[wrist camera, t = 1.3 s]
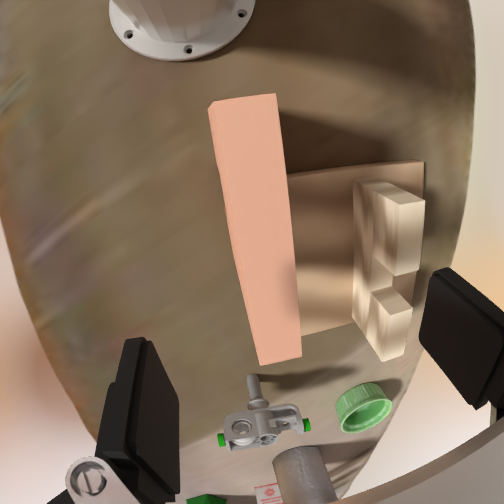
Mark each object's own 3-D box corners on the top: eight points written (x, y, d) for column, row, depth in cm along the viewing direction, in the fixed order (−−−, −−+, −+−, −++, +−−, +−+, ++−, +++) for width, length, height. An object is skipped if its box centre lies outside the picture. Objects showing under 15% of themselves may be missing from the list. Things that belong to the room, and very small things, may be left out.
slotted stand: (283, 174, 28) (319, 203, 20) (415, 159, 29) (476, 181, 21) (297, 327, 36) (323, 387, 28) (405, 298, 37) (446, 342, 29)
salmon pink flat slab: (207, 109, 25) (213, 101, 11) (236, 104, 25) (275, 93, 11) (233, 254, 31) (259, 365, 17) (258, 249, 31) (301, 356, 18)
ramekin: (379, 371, 43) (391, 390, 39) (383, 398, 47) (393, 416, 43) (327, 396, 43) (336, 417, 39) (337, 420, 47) (345, 439, 43)
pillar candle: (278, 471, 53) (294, 530, 40) (266, 455, 49) (284, 523, 36) (322, 457, 54) (343, 514, 40) (316, 439, 49) (341, 505, 36)
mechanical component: (290, 378, 40) (310, 437, 31) (215, 390, 39) (221, 453, 30) (290, 363, 38) (311, 424, 30) (211, 376, 37) (217, 441, 28)
